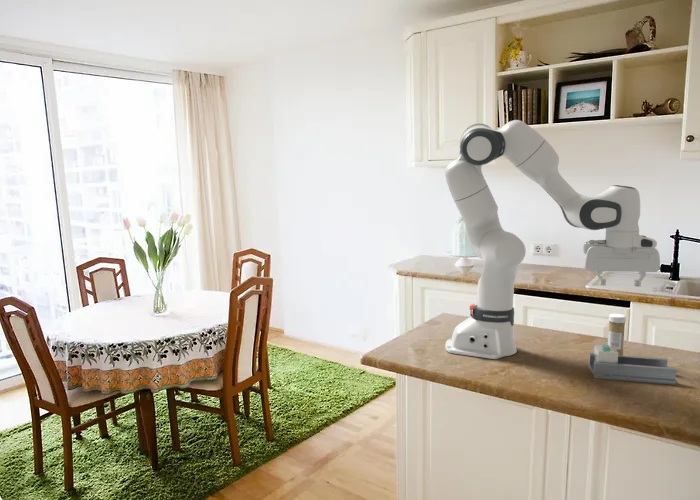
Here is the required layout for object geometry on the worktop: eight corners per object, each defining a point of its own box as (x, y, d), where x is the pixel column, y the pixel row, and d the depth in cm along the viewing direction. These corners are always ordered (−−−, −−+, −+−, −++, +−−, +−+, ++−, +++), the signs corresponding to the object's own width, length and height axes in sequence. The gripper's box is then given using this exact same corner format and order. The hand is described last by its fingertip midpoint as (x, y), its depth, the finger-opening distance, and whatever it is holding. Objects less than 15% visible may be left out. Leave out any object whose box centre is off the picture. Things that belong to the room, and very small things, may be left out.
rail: (594, 378, 145) (596, 351, 143) (588, 365, 154) (589, 339, 153) (676, 384, 139) (678, 356, 138) (664, 371, 149) (666, 344, 148)
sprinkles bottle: (626, 358, 160) (629, 315, 158) (617, 361, 157) (620, 317, 155) (611, 353, 163) (614, 312, 162) (603, 356, 161) (606, 314, 159)
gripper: (585, 241, 155) (583, 286, 157) (663, 241, 149) (660, 289, 151) (582, 238, 161) (580, 282, 163) (657, 238, 155) (654, 284, 157)
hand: (619, 285), depth 157 cm, fingers open, 8 cm apart
